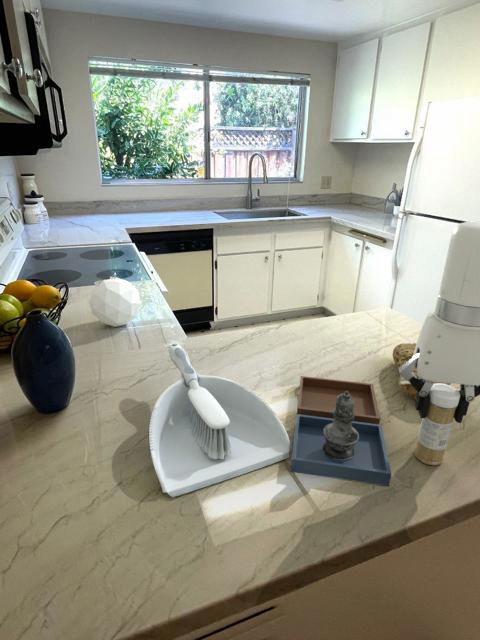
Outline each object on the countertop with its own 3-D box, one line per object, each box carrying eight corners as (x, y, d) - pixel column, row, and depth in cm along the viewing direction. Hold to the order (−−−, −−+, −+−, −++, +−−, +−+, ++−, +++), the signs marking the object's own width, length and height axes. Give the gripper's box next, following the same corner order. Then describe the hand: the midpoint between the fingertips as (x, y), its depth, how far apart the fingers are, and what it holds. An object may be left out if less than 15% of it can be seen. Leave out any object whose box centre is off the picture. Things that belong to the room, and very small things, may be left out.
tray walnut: (371, 393, 86) (373, 383, 85) (378, 429, 75) (380, 418, 74) (299, 385, 89) (300, 375, 88) (296, 419, 77) (297, 408, 77)
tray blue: (379, 435, 73) (381, 424, 72) (389, 486, 62) (391, 473, 61) (295, 424, 76) (296, 413, 75) (290, 471, 65) (291, 459, 64)
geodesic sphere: (77, 318, 106) (106, 273, 105) (74, 301, 118) (100, 260, 117) (126, 342, 114) (154, 300, 113) (119, 323, 126) (144, 286, 125)
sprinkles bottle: (431, 446, 71) (448, 380, 66) (448, 465, 67) (467, 396, 61) (408, 449, 70) (422, 383, 65) (423, 468, 66) (440, 399, 61)
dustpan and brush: (163, 502, 59) (158, 451, 55) (121, 389, 86) (116, 350, 83) (296, 456, 68) (300, 409, 64) (220, 367, 95) (220, 331, 92)
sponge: (449, 416, 81) (455, 358, 95) (448, 386, 77) (455, 330, 92) (381, 407, 88) (396, 353, 102) (378, 379, 84) (394, 327, 98)
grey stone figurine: (317, 439, 71) (324, 381, 67) (349, 438, 72) (358, 380, 67) (326, 463, 66) (334, 401, 61) (361, 461, 66) (371, 400, 62)
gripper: (517, 306, 60) (486, 408, 67) (398, 297, 63) (380, 396, 70) (542, 326, 53) (505, 437, 60) (407, 315, 56) (386, 422, 63)
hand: (438, 414), depth 65 cm, fingers closed on sprinkles bottle, 4 cm apart
